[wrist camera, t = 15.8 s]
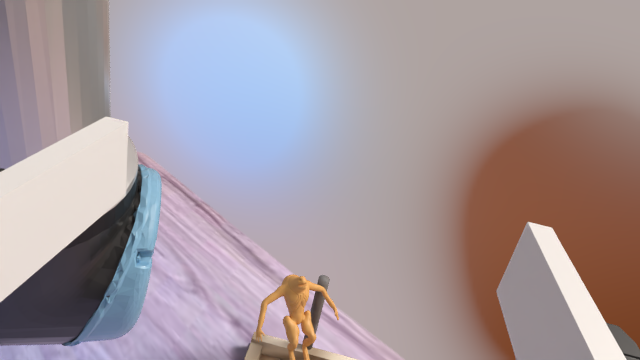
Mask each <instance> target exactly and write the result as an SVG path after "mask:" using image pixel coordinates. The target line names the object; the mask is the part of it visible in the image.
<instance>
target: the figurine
mask: <svg viewBox="0 0 640 360" xmlns="http://www.w3.org/2000/svg"><path fill="white" fill-rule="evenodd" d="M309 290H312V291H318V292H322V295H323V296H324V298H325V299H326V301H327V303H328V304H329V305H330V307H331V308H333V310H334V312H335V316H336V317H337V320H339V317H338V312H337V309H336V307H335V305H334V303H333V301H332V300H331V298H330V297H329V296H328V294H327V292H326V290H325V288H324V287H322V286H320V285H318V284H314V283H311V282H310V281H307V280H306V279H305V277H303V276H300V277H299V276H297V275H289V276H287V277H285V278H284V280H283V282H282V285H281V286H280V287H278V288H277V290H276V291H275V292H273V293H272V294H270V295H269V296H268V297H267V298H265V299H264V300H263V301H262V304H261V310H260V315H259V320H258V326H257V330H256V341H257V337H258V342H259V337H260V339H261V342H262V336H261V334H263V336H265V335H264V333H263V331H262V330H261V328H262V325H263V323H264V319H265V313H266V309H267V305H268V304H270V303H271V302H273V301H275V300H276V299H278V298H279V297H281V296H284V298H285V301H286V305H287V307H288V310H289V314H290V316H285V317H284V319H283V324H284V326H285V329H286V335H287V338H288V340H289V342H290V343H289V344H288V346H287V349H288V353H289V359H290V360H295V356H294V353H293V351H294V350H295V349H296V347H297V345H298V336H299V328H298V326H297V324H300V323H301V327H302V331H303V333H304V334H306V335H307V336H308V338H306V339H304V340H303V345H302V351H303V357H304V360H310V359H309V354H308V350H307V347H308V346H310V345H311V344H312V343H314V341H315V340H316V335H315V333H314V328H313V325H312V322H311V312H310V311H309V310H307V311H306V312H304V307H305V305H306V302H307V300H308V297H309Z"/></svg>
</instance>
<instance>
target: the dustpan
mask: <svg viewBox="0 0 640 360" xmlns="http://www.w3.org/2000/svg"><path fill="white" fill-rule="evenodd" d="M329 280H330V279H329V277H327V276H325V275H321V276H320V277H319V280H318V285H320V286H322V287H324V288H325V290H326V292H327V288H328V284H329ZM324 300H325V298H324V296H323V295H322V292H318V291H316V292H315V296H314V300H313V304H312V308H311V322H312V325H313V328H314V333H315V334H316V330H317V326H318V323H319V319H320V315H321V311H322V307H323V303H324ZM264 335H265V334H264ZM261 336H262V342H261V339H260V337H259V342H258V337H257V341H256V332H254V334H253V337H252V340H251V343H250V346H249V349H248V351H247V354H246V356H245V359H244V360H290V359H289V353H288V349H287V346H288V344H289V343H290V342H289V341H287V340H283V339H280V338H276V337H272V336H268V335H265V336H263V334H261ZM306 338H308V336H307V335H306V334H305V336H304V339H306ZM302 345H303V344H298V345H297V347H296V349H295V350H294V351H293V353H294V356H295V360H304V357H303V351H302ZM312 346H313V343H312V344H311V345H310V346H308V347H307V350H308V354H309V359H310V360H357V359H354V358H350V357H346V356H343V355H339V354H335V353H331V352H328V351H324V350H320V349H317V348H313V347H312Z"/></svg>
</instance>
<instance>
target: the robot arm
mask: <svg viewBox="0 0 640 360" xmlns="http://www.w3.org/2000/svg"><path fill="white" fill-rule="evenodd" d="M109 49H110V48H109V0H0V346H2V345H47V344H62V345H64V346H73V345H77V344H79V343H81V342H88V341H100V340H111V339H116V338H119V337H121V336H123V335H125V334H126V333H128V332H129V331H130V330H131V329H132V328H133V326H134V325H135V324H136V322H137V320H138V318H139V316H140V313H141V310H142V307H143V303H144V300H145V296H146V292H147V287H148V283H149V278H150V272H151V267H152V258H151V257H152V255H153V253H154V246H155V242H156V238H157V232H158V224H159V216H160V206H161V187H162V186H161V177H160V175H159V173H158V172H157V171H155V170H154V169H151V168H146V167H145V166H144V165H142V164H141V165H138V156H137V152H136V149H135V146H134V144H133V142H132V141H131V139H130V137H129V136H128V122H126V121H122V120H118V119H114V118H110V50H109ZM497 295H498V299H499V302H500V305H501V309H502V312H503V316H504V319H505V323H506V326H507V330H508V333H509V336H510V340H511V344H512V347H513V350H514V354H515V357H516V360H640V350H639V348H638V346H637V345H636V343H635V342H634V341H633V340H632V339H631V338H630V337H629V336H628V335H627V334H626V333H625V332H624V331H623V330H622V329H621V328H619V326H616V325H612V324H608V323H605V321H604V319H603V317H602V315H601V314H600V312H599V310H598V308H597V307H596V305H595V303H594V302H593V300H592V298H591V296H590V294H589V293H588V291H587V289H586V287H585V285H584V284H583V282H582V280H581V278H580V277H579V275H578V273H577V271H576V270H575V268H574V266H573V264H572V263H571V261H570V259H569V258H568V255H567V254H566V252H565V250H564V248H563V247H562V245H561V243H560V241H559V240H558V238H557V236H556V234H555V233H554V231H553V229H552V228H550V227H546V226H542V225H538V224H534V223H530V222H527V224H526V227H525V229H524V231H523V233H522V235H521V238H520V240H519V242H518V245H517V247H516V249H515V251H514V253H513V256H512V258H511V260H510V262H509V264H508V267H507V269H506V271H505V273H504V275H503V278H502V280H501V282H500V284H499V287H498V289H497Z"/></svg>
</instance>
